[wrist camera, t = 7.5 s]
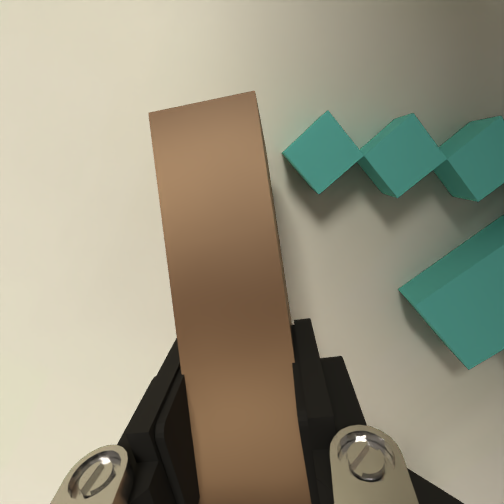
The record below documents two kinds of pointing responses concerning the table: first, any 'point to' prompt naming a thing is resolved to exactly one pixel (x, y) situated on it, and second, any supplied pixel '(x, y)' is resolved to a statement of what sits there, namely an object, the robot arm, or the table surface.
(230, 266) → the brown flat bar
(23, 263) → the table surface
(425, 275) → the alien figure
